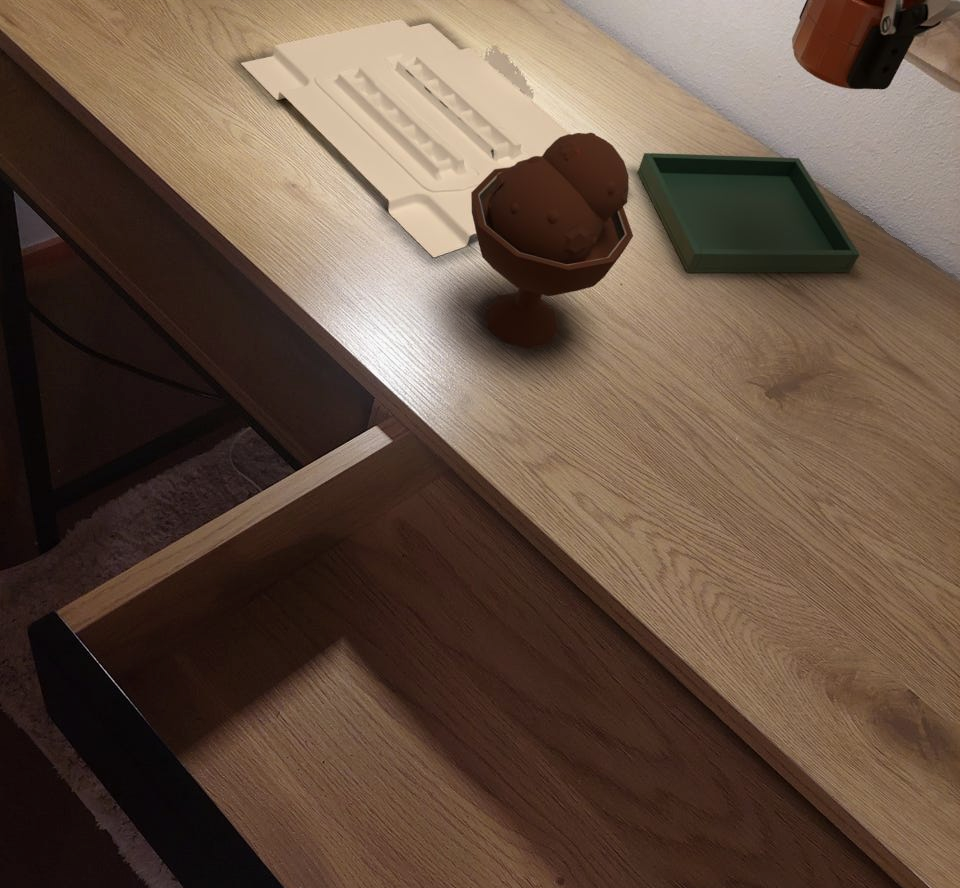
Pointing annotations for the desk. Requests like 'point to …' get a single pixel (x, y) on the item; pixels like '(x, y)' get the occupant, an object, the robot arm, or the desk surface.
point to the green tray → (745, 214)
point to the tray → (413, 117)
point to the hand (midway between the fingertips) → (842, 52)
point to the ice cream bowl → (550, 230)
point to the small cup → (835, 36)
